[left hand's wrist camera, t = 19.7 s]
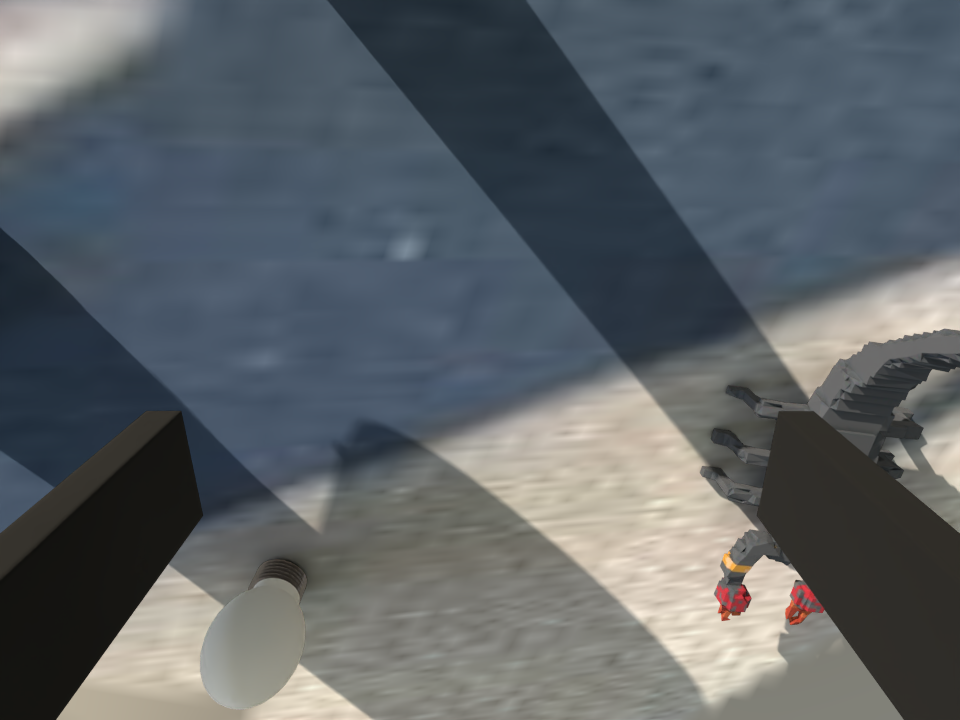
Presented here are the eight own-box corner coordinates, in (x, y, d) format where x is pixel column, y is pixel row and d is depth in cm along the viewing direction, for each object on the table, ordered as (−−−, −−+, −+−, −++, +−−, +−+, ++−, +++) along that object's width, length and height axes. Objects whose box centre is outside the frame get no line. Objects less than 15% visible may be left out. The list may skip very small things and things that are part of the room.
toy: (962, 288, 39) (1341, 411, 22) (821, 598, 48) (1007, 852, 31) (768, 260, 38) (1002, 365, 21) (664, 580, 48) (767, 830, 31)
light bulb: (227, 583, 48) (159, 706, 38) (269, 529, 46) (208, 643, 36) (298, 621, 49) (251, 749, 39) (341, 570, 47) (303, 692, 37)
